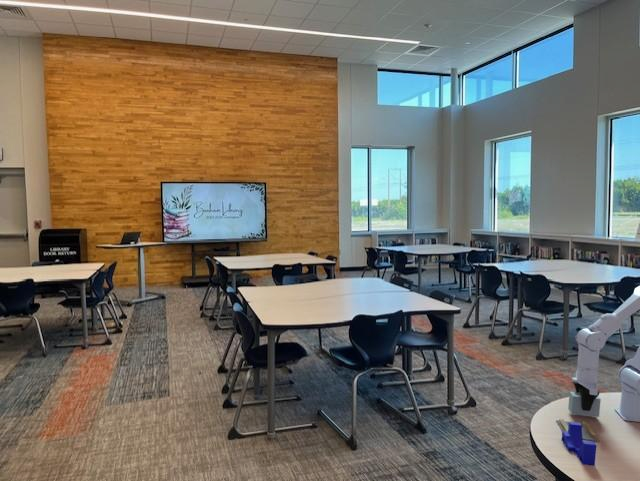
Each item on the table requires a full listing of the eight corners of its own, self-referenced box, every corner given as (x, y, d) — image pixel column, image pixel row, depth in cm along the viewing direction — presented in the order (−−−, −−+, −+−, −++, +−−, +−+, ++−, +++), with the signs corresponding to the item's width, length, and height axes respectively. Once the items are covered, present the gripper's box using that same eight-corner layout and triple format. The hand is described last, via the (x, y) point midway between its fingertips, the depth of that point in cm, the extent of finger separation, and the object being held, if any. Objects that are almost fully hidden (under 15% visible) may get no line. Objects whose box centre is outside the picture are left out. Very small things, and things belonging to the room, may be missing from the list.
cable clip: (561, 440, 137) (563, 421, 136) (578, 442, 136) (580, 422, 136) (576, 464, 125) (578, 443, 125) (594, 466, 125) (596, 445, 124)
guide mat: (587, 424, 146) (587, 424, 146) (599, 441, 137) (599, 440, 137) (556, 421, 148) (556, 420, 148) (565, 437, 139) (565, 436, 139)
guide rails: (586, 425, 146) (587, 422, 145) (596, 438, 138) (596, 435, 138) (559, 422, 147) (559, 419, 147) (566, 435, 139) (566, 431, 139)
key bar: (594, 411, 153) (596, 394, 152) (598, 417, 150) (600, 399, 149) (568, 408, 155) (569, 391, 154) (571, 413, 151) (573, 396, 150)
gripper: (567, 357, 158) (563, 396, 160) (581, 374, 144) (577, 416, 146) (590, 359, 157) (586, 398, 158) (606, 376, 143) (602, 419, 144)
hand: (583, 407), depth 152 cm, fingers closed on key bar, 4 cm apart
